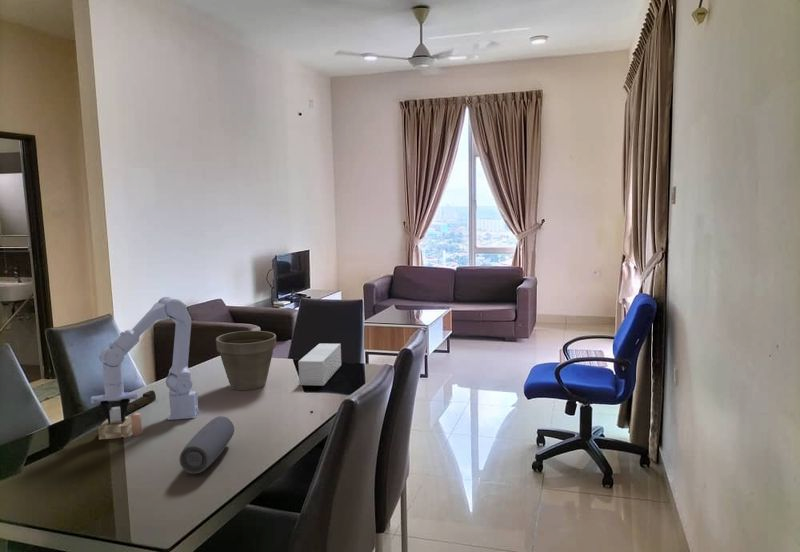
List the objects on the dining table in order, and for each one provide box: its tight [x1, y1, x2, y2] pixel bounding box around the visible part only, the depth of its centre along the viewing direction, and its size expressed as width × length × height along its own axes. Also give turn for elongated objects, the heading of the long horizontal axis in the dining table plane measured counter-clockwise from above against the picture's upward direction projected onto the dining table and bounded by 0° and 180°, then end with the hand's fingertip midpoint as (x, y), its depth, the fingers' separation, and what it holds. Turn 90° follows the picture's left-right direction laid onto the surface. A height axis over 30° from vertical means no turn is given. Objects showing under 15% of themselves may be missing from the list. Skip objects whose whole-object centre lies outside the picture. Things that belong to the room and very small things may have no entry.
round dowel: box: [130, 412, 143, 436], centre depth 189 cm, size 3×3×7 cm
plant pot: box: [215, 330, 277, 391], centre depth 239 cm, size 25×25×22 cm
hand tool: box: [125, 389, 157, 417], centre depth 216 cm, size 19×4×5 cm, turn 164°
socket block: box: [97, 415, 132, 440], centre depth 190 cm, size 9×9×4 cm
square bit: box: [109, 406, 124, 425], centre depth 190 cm, size 3×3×8 cm
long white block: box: [297, 343, 342, 387], centre depth 254 cm, size 32×11×11 cm, turn 172°
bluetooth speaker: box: [178, 415, 235, 474], centre depth 168 cm, size 23×9×10 cm, turn 178°
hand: (117, 421), depth 190 cm, fingers closed on square bit, 3 cm apart
